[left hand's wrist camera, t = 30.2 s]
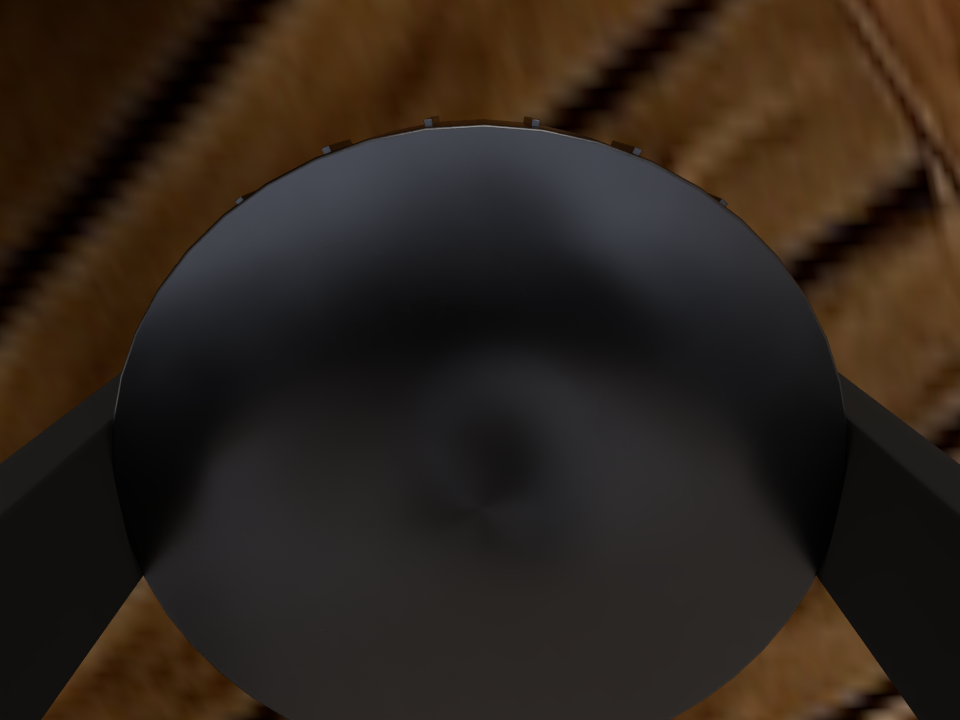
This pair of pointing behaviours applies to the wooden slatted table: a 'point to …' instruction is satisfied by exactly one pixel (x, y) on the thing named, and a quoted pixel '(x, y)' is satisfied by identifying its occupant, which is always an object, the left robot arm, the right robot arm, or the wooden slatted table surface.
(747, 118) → the wooden slatted table surface
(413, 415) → the lid
